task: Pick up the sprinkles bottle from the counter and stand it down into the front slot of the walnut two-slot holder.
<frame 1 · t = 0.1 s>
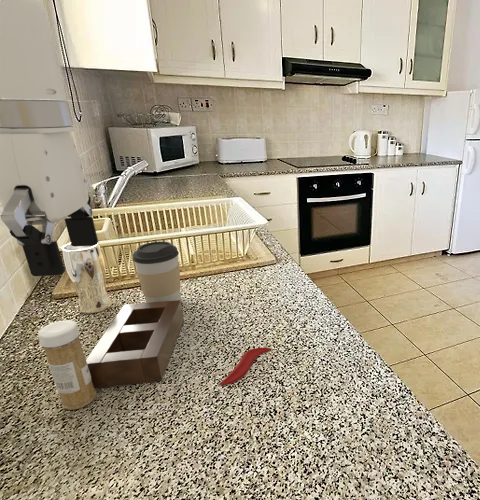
hand: (68, 258, 48), 25 cm above the countertop, tool pointing down, fingers open, 9 cm apart
sprinkles bottle: (79, 401, 59), on the countertop
beer glass: (96, 307, 85), on the countertop
holder: (143, 350, 71), on the countertop
coffee cup: (165, 306, 86), on the countertop
cayenne pepper: (245, 366, 67), on the countertop
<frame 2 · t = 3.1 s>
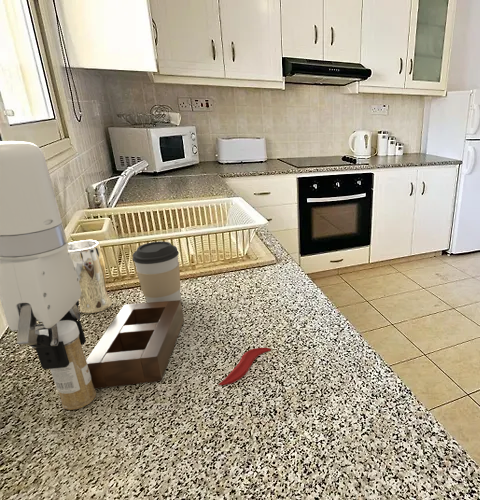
hand: (65, 354, 55), 9 cm above the countertop, tool pointing down, fingers closed on sprinkles bottle, 4 cm apart
sprinkles bottle: (79, 401, 59), on the countertop, touching gripper
everything else where it was.
when the fingers open (9 cm above the countertop, at t = 10.0 s): sprinkles bottle stays where it is, resting in holder.
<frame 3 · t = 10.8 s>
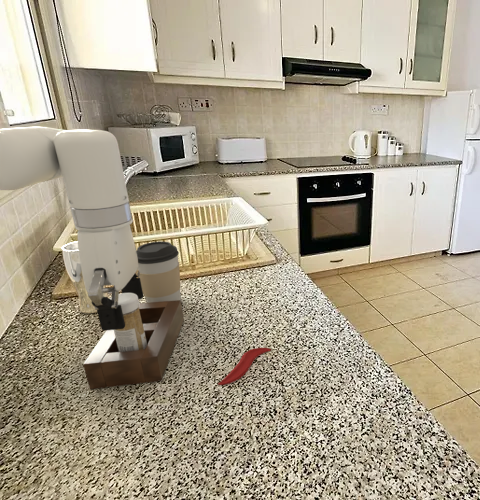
hand: (124, 312, 63), 11 cm above the countertop, tool pointing down, fingers open, 9 cm apart
sprinkles bottle: (137, 365, 67), resting in holder
everything else where it was.
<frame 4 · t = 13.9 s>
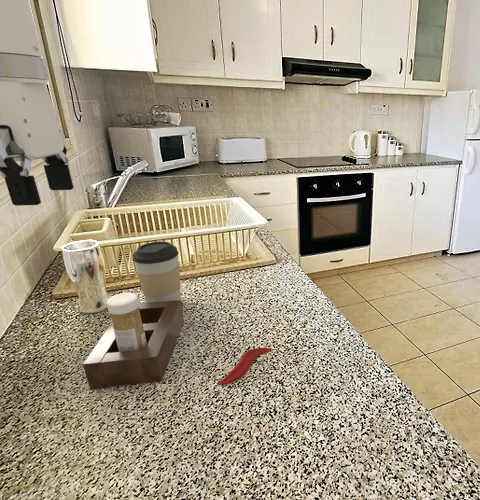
hand: (46, 196, 56), 30 cm above the countertop, tool pointing down, fingers open, 9 cm apart
nothing on the countertop moved.
at the end: sprinkles bottle 0.0 cm from the target spot in the holder, point 0.0 cm above the holder's base; sprinkles bottle tilted 0°; the gripper is holding nothing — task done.
